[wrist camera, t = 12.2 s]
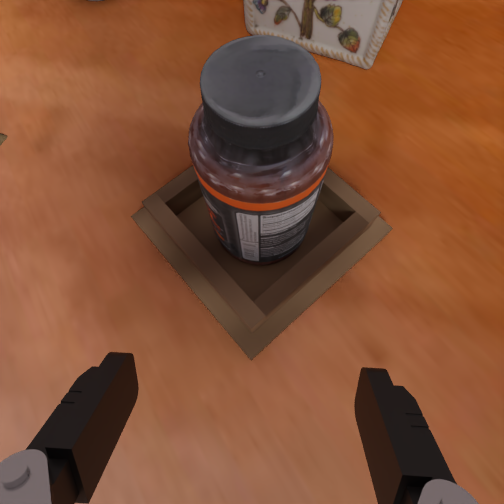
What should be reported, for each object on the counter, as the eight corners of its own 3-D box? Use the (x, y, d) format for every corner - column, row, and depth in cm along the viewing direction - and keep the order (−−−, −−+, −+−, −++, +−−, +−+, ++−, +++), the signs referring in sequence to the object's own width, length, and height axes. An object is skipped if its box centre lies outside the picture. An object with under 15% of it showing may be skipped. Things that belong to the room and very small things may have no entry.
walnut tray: (136, 222, 23) (118, 201, 20) (265, 128, 25) (266, 97, 22) (251, 360, 19) (249, 357, 16) (387, 234, 22) (405, 213, 19)
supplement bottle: (206, 197, 22) (155, 29, 11) (291, 176, 22) (317, -4, 12) (226, 279, 20) (186, 167, 9) (320, 255, 20) (383, 121, 10)
